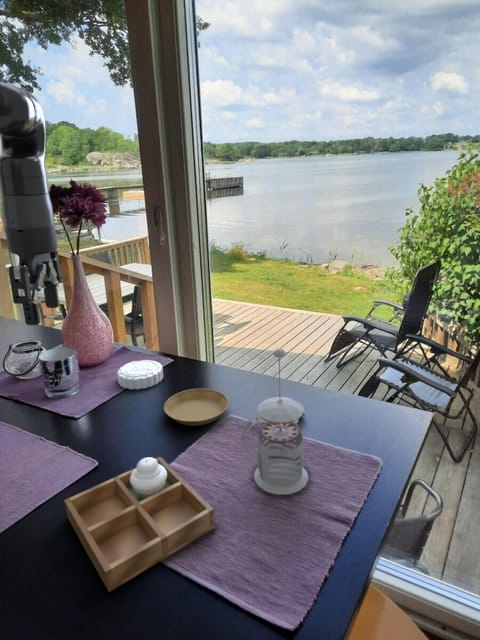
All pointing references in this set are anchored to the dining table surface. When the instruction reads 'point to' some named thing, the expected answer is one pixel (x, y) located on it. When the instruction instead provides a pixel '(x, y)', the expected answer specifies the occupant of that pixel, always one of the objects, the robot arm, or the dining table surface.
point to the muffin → (148, 477)
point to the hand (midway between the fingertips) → (43, 315)
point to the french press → (275, 465)
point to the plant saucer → (196, 406)
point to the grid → (136, 524)
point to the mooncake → (140, 374)
